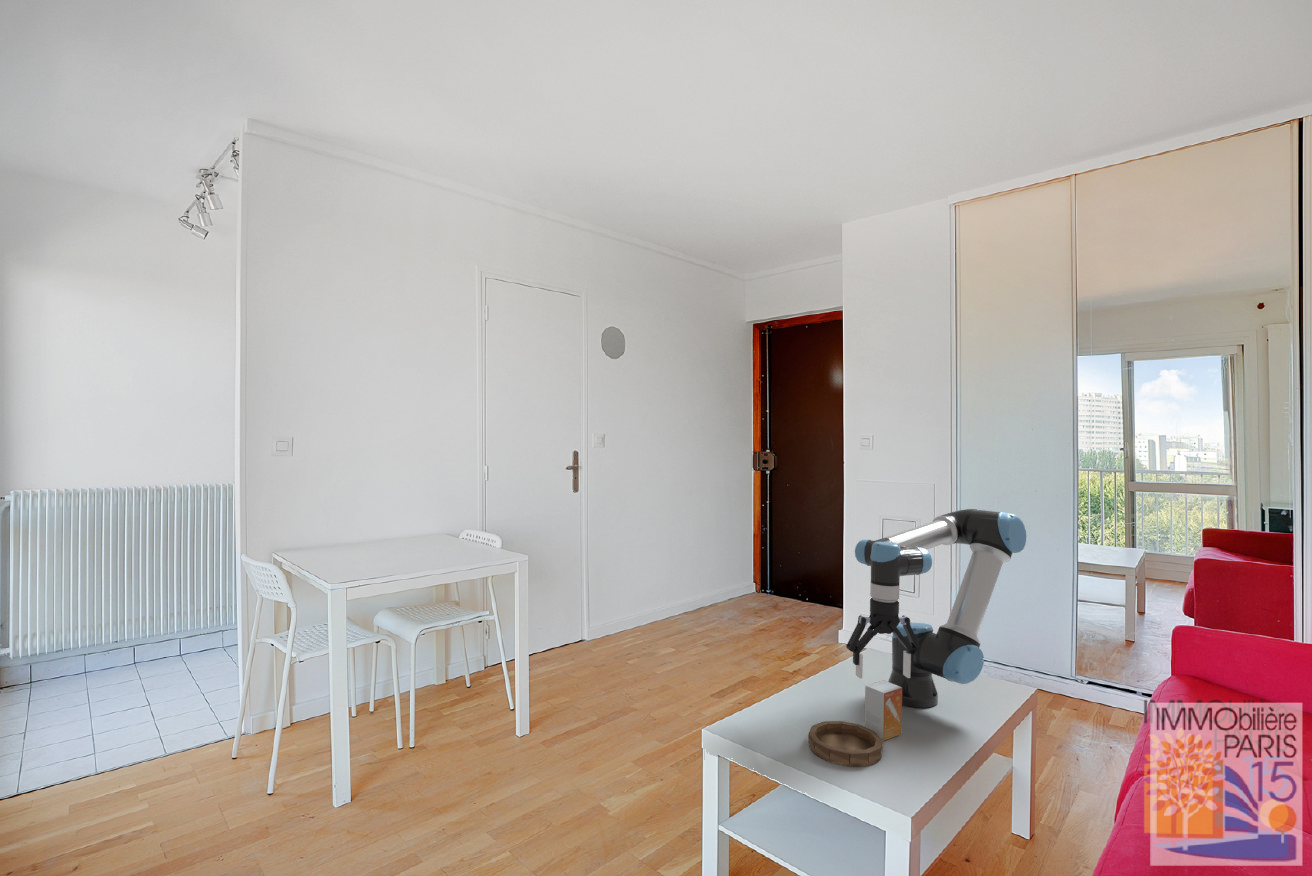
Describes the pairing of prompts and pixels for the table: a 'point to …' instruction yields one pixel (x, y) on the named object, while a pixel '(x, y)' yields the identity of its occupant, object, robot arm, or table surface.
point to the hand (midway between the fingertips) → (882, 676)
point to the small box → (883, 709)
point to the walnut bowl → (845, 743)
